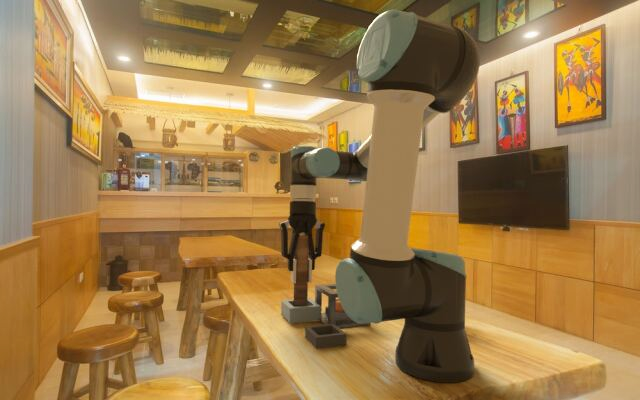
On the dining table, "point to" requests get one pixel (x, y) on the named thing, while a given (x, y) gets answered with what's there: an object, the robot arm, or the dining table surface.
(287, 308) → the grey square holder
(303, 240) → the bar
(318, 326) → the stand
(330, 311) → the guard frame
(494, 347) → the dining table surface
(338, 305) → the breaker button
